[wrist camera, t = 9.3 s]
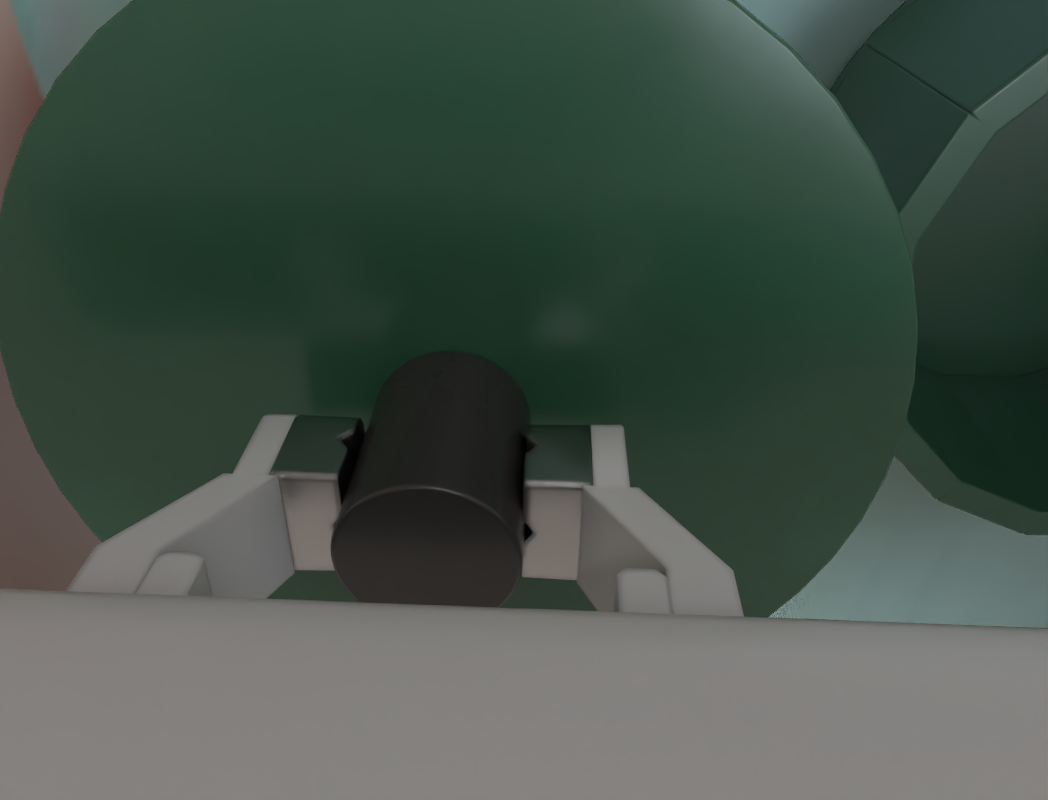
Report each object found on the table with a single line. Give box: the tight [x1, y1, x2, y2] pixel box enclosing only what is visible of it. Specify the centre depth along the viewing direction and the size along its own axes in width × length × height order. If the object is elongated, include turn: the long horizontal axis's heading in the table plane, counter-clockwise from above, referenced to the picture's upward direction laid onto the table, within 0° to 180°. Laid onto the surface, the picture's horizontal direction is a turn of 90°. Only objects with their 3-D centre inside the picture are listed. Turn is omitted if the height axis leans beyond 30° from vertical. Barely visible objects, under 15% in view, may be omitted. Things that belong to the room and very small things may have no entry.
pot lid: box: [0, 0, 918, 617], centre depth 14 cm, size 15×15×5 cm
